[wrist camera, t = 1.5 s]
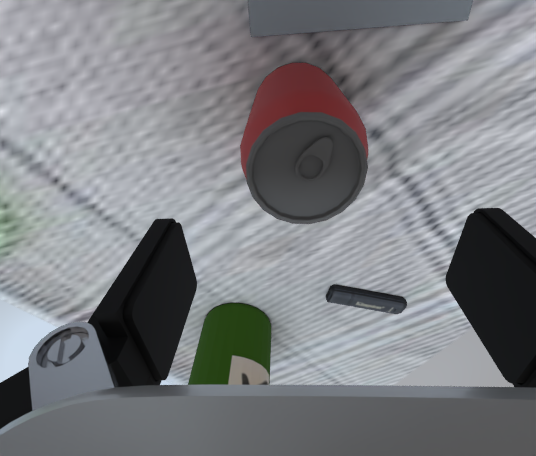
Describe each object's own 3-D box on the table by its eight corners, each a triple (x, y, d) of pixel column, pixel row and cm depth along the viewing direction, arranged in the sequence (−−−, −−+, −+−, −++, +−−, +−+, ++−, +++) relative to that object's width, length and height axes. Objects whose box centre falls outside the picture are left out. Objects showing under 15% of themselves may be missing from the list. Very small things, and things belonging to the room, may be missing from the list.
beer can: (355, 89, 22) (412, 147, 13) (309, 162, 26) (325, 251, 16) (279, 42, 21) (277, 66, 11) (240, 126, 24) (213, 200, 15)
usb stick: (323, 295, 36) (324, 305, 35) (330, 280, 35) (332, 290, 34) (395, 308, 37) (399, 318, 36) (405, 294, 36) (410, 304, 34)
